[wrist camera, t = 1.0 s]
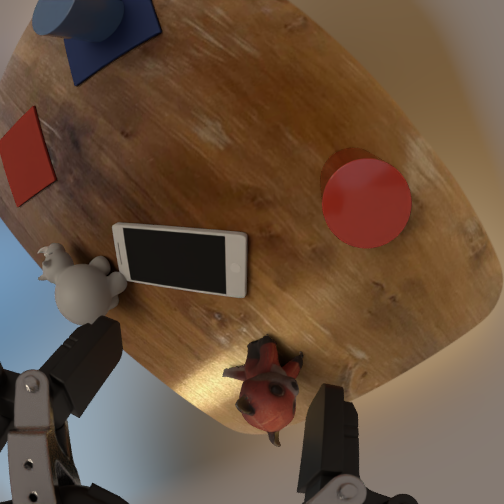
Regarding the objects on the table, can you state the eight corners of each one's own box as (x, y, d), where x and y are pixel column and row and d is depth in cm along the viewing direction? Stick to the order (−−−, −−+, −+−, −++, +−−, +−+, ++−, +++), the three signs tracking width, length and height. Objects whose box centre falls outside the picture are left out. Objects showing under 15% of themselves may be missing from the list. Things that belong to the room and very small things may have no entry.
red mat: (-1, 142, 32) (-3, 143, 31) (35, 105, 28) (33, 105, 28) (18, 206, 35) (17, 207, 35) (57, 179, 32) (55, 180, 32)
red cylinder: (311, 156, 26) (311, 170, 19) (377, 141, 24) (402, 149, 17) (329, 220, 28) (333, 257, 21) (392, 206, 26) (417, 238, 19)
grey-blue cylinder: (77, 15, 22) (29, 4, 15) (118, -15, 21) (73, -35, 13) (86, 53, 24) (35, 47, 17) (129, 24, 23) (80, 7, 15)
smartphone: (246, 294, 33) (244, 299, 32) (124, 276, 36) (120, 280, 35) (247, 232, 30) (245, 235, 29) (115, 221, 33) (111, 224, 32)
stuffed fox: (210, 353, 38) (178, 425, 27) (278, 315, 33) (259, 399, 23) (249, 387, 40) (227, 459, 29) (317, 356, 35) (311, 439, 24)
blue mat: (60, 13, 23) (58, 13, 22) (137, -42, 19) (135, -43, 19) (76, 86, 27) (74, 86, 26) (162, 32, 23) (160, 31, 23)
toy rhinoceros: (74, 214, 34) (25, 237, 26) (137, 279, 35) (94, 316, 27) (60, 251, 37) (17, 276, 30) (117, 311, 38) (78, 347, 30)
